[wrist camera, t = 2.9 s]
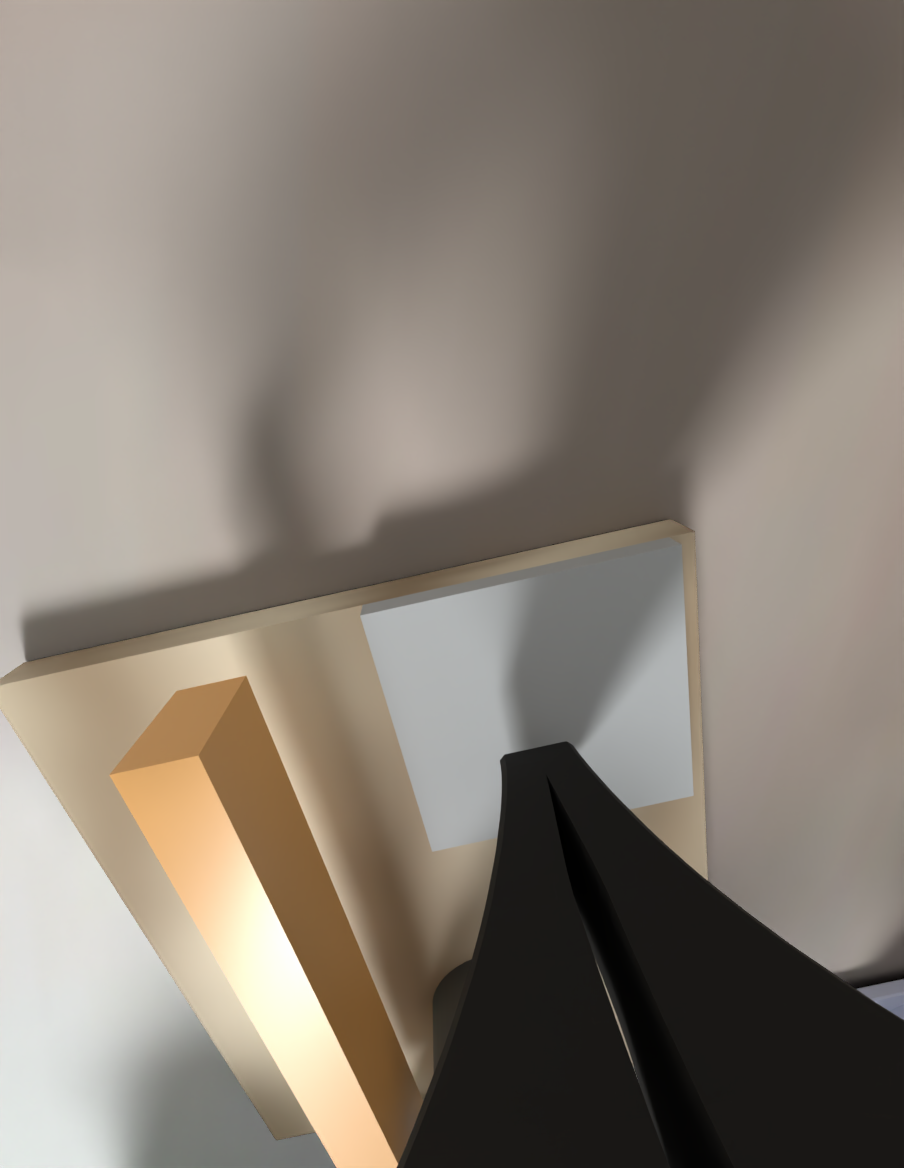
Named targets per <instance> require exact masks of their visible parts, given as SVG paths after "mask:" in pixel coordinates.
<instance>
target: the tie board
mask: <svg viewBox="0 0 904 1168" xmlns="http://www.w3.org/2000/svg"><path fill="white" fill-rule="evenodd" d="M667 537H670V538H671V539H673V540H675V541H676V542H678V543H680V544H682V561H683V583H684V604H685V625H686V646H687V667H688V688H689V709H690V730H691V751H692V772H693V793H694V796H690V797H686V798H681V799H676V800H672V801H667V802H662V803H658V804H653V805H648V806H644V807H639V808H634V809H630V810H631V811H632V812H633V813H634V814H635V815H636V816H637V817H638V818H639V819H640V820H641V821H642V822H643V823H644V824H645V825H646V826H647V827H648V828H649V829H650V830H651V831H652V832H653V833H654V834H655V835H656V836H657V837H658V838H659V839H661V840H662V841H663V842H664V843H665V844H666V845H667V846H668V847H669V848H670V849H672V850H673V851H674V852H675V853H676V854H677V855H678V856H679V857H681V858H682V859H683V860H684V861H685V862H686V863H687V864H688V865H690V866H691V867H692V868H693V869H694V870H695V871H697V872H698V873H699V874H700V875H701V876H702V877H704V878H705V879H706V880H707V881H708V874H707V847H706V820H705V793H704V767H703V740H702V713H701V686H700V659H699V633H698V606H697V579H696V552H695V531H693V530H691V529H689V528H687V527H685V526H683V525H681V524H679V523H677V522H675V521H673V520H671V519H669V520H664V521H660V522H655V523H651V524H646V525H642V526H637V527H633V528H628V529H624V530H619V531H615V532H610V533H605V534H601V535H596V536H592V537H587V538H583V539H578V540H574V541H569V542H565V543H560V544H556V545H551V546H547V547H542V548H538V549H533V550H529V551H524V552H520V553H515V554H511V555H506V556H502V557H497V558H493V559H488V560H484V561H479V562H475V563H470V564H466V565H461V566H457V567H452V568H448V569H443V570H439V571H434V572H430V573H425V574H421V575H416V576H412V577H407V578H403V579H398V580H394V581H389V582H385V583H380V584H376V585H371V586H367V587H362V588H358V589H353V590H349V591H344V592H340V593H335V594H331V595H326V596H322V597H317V598H313V599H308V600H304V601H299V602H295V603H290V604H286V605H281V606H277V607H272V608H268V609H263V610H259V611H254V612H250V613H245V614H241V615H236V616H232V617H227V618H223V619H218V620H214V621H209V622H205V623H200V624H195V625H191V626H186V627H182V628H177V629H173V630H168V631H164V632H159V633H155V634H150V635H146V636H141V637H137V638H132V639H128V640H123V641H119V642H114V643H110V644H105V645H101V646H96V647H92V648H87V649H83V650H78V651H74V652H69V653H65V654H60V655H56V656H51V657H47V658H42V659H38V660H33V661H29V662H24V663H23V664H21V665H20V666H18V667H17V668H15V669H14V670H13V671H11V672H10V673H8V674H7V675H5V676H4V677H2V678H1V679H0V709H1V711H2V712H3V714H4V715H5V717H6V719H7V720H8V722H9V723H10V725H11V726H12V728H13V730H14V731H15V733H16V734H17V736H18V737H19V739H20V740H21V742H22V744H23V745H24V747H25V748H26V750H27V751H28V753H29V755H30V756H31V758H32V759H33V761H34V762H35V764H36V765H37V767H38V769H39V770H40V772H41V773H42V775H43V776H44V778H45V780H46V781H47V783H48V784H49V786H50V787H51V789H52V791H53V792H54V794H55V795H56V797H57V798H58V800H59V801H60V803H61V805H62V806H63V808H64V809H65V811H66V812H67V814H68V816H69V817H70V819H71V820H72V822H73V823H74V825H75V826H76V828H77V830H78V831H79V833H80V834H81V836H82V837H83V839H84V841H85V842H86V844H87V845H88V847H89V848H90V850H91V852H92V853H93V855H94V856H95V858H96V859H97V861H98V862H99V864H100V866H101V867H102V869H103V870H104V872H105V873H106V875H107V877H108V878H109V880H110V881H111V883H112V884H113V886H114V887H115V889H116V891H117V892H118V894H119V895H120V897H121V898H122V900H123V902H124V903H125V905H126V906H127V908H128V909H129V911H130V913H131V914H132V916H133V917H134V919H135V920H136V922H137V923H138V925H139V927H140V928H141V930H142V931H143V933H144V934H145V936H146V938H147V939H148V941H149V942H150V944H151V945H152V947H153V949H154V950H155V952H156V953H157V955H158V956H159V958H160V959H161V961H162V963H163V964H164V966H165V967H166V969H167V970H168V972H169V974H170V975H171V977H172V978H173V980H174V981H175V983H176V984H177V986H178V988H179V989H180V991H181V992H182V994H183V995H184V997H185V999H186V1000H187V1002H188V1003H189V1005H190V1006H191V1008H192V1010H193V1011H194V1013H195V1014H196V1016H197V1017H198V1019H199V1020H200V1022H201V1024H202V1025H203V1027H204V1028H205V1030H206V1031H207V1033H208V1035H209V1036H210V1038H211V1039H212V1041H213V1042H214V1044H215V1045H216V1047H217V1049H218V1050H219V1052H220V1053H221V1055H222V1056H223V1058H224V1060H225V1061H226V1063H227V1064H228V1066H229V1067H230V1069H231V1071H232V1072H233V1074H234V1075H235V1077H236V1078H237V1080H238V1081H239V1083H240V1085H241V1086H242V1088H243V1089H244V1091H245V1092H246V1094H247V1096H248V1097H249V1099H250V1100H251V1102H252V1103H253V1105H254V1106H255V1108H256V1110H257V1111H258V1113H259V1114H260V1116H261V1117H262V1119H263V1121H264V1122H265V1124H266V1125H267V1127H268V1128H269V1130H270V1132H271V1133H272V1135H273V1136H274V1138H275V1139H276V1140H281V1139H286V1138H290V1137H295V1136H300V1135H305V1134H310V1133H315V1130H314V1128H313V1126H312V1125H311V1123H310V1121H309V1119H308V1118H307V1116H306V1114H305V1113H304V1111H303V1109H302V1107H301V1106H300V1104H299V1102H298V1100H297V1099H296V1097H295V1095H294V1094H293V1092H292V1090H291V1088H290V1087H289V1085H288V1083H287V1081H286V1080H285V1078H284V1076H283V1075H282V1073H281V1071H280V1069H279V1068H278V1066H277V1064H276V1062H275V1061H274V1059H273V1057H272V1056H271V1054H270V1052H269V1050H268V1049H267V1047H266V1045H265V1043H264V1042H263V1040H262V1038H261V1037H260V1035H259V1033H258V1031H257V1030H256V1028H255V1026H254V1024H253V1023H252V1021H251V1019H250V1017H249V1016H248V1014H247V1012H246V1011H245V1009H244V1007H243V1005H242V1004H241V1002H240V1000H239V998H238V997H237V995H236V993H235V992H234V990H233V988H232V986H231V985H230V983H229V981H228V979H227V978H226V976H225V974H224V973H223V971H222V969H221V967H220V966H219V964H218V962H217V960H216V959H215V957H214V955H213V954H212V952H211V950H210V948H209V947H208V945H207V943H206V941H205V940H204V938H203V936H202V935H201V933H200V931H199V929H198V928H197V926H196V924H195V922H194V921H193V919H192V917H191V916H190V914H189V912H188V910H187V909H186V907H185V905H184V903H183V902H182V900H181V898H180V897H179V895H178V893H177V891H176V890H175V888H174V886H173V884H172V883H171V881H170V879H169V878H168V876H167V874H166V872H165V871H164V869H163V867H162V865H161V864H160V862H159V860H158V859H157V857H156V855H155V853H154V852H153V850H152V848H151V846H150V845H149V843H148V841H147V839H146V838H145V836H144V834H143V833H142V831H141V829H140V827H139V826H138V824H137V822H136V820H135V819H134V817H133V815H132V814H131V812H130V810H129V808H128V807H127V805H126V803H125V801H124V800H123V798H122V796H121V795H120V793H119V791H118V789H117V788H116V786H115V784H114V782H113V781H112V779H111V777H110V776H109V775H110V773H111V772H112V771H113V770H114V768H115V767H116V766H117V765H118V763H119V762H120V761H121V760H122V758H123V757H124V756H125V755H126V753H127V752H128V751H129V750H130V748H131V747H132V746H133V745H134V743H135V742H136V741H137V740H138V738H139V737H140V736H141V735H142V733H143V732H144V731H145V730H146V728H147V727H148V726H149V725H150V723H151V722H152V721H153V720H154V718H155V717H156V716H157V715H158V713H159V712H160V711H161V710H162V708H163V707H164V706H165V705H166V703H167V702H168V701H169V700H170V698H171V697H172V696H173V695H174V693H175V692H176V691H178V690H183V689H187V688H192V687H196V686H201V685H205V684H210V683H214V682H219V681H224V680H228V679H233V678H237V677H242V676H247V679H248V681H249V683H250V686H251V688H252V691H253V693H254V695H255V698H256V700H257V703H258V705H259V708H260V710H261V712H262V715H263V717H264V720H265V722H266V724H267V727H268V729H269V732H270V734H271V736H272V739H273V741H274V744H275V746H276V748H277V751H278V753H279V756H280V758H281V760H282V763H283V765H284V768H285V770H286V772H287V775H288V777H289V780H290V782H291V784H292V787H293V789H294V792H295V794H296V796H297V799H298V801H299V804H300V806H301V808H302V811H303V813H304V816H305V818H306V820H307V823H308V825H309V828H310V830H311V832H312V835H313V837H314V840H315V842H316V844H317V847H318V849H319V852H320V854H321V856H322V859H323V861H324V864H325V866H326V868H327V871H328V873H329V876H330V878H331V880H332V883H333V885H334V888H335V890H336V892H337V895H338V897H339V900H340V902H341V905H342V907H343V909H344V912H345V914H346V917H347V919H348V921H349V924H350V926H351V929H352V931H353V933H354V936H355V938H356V941H357V943H358V945H359V948H360V950H361V953H362V955H363V957H364V960H365V962H366V965H367V967H368V969H369V972H370V974H371V977H372V979H373V981H374V984H375V986H376V989H377V991H378V993H379V996H380V998H381V1001H382V1003H383V1005H384V1008H385V1010H386V1013H387V1015H388V1017H389V1020H390V1022H391V1025H392V1027H393V1029H394V1032H395V1034H396V1037H397V1039H398V1041H399V1044H400V1046H401V1049H402V1051H403V1053H404V1056H405V1058H406V1061H407V1063H408V1065H409V1068H410V1070H411V1073H412V1075H413V1077H414V1080H415V1082H416V1085H417V1087H418V1089H419V1092H420V1094H421V1097H422V1099H423V1101H424V1098H425V1095H426V1093H427V1090H428V1087H429V1085H430V1082H431V1080H432V1077H433V1074H434V1070H433V996H434V993H435V991H436V988H437V987H438V985H439V983H440V982H441V981H442V979H443V978H444V977H445V976H446V975H447V974H448V973H449V972H450V971H452V970H453V969H455V968H456V967H457V966H459V965H461V964H463V963H464V962H466V961H468V960H471V959H472V956H473V953H474V949H475V945H476V941H477V938H478V934H479V930H480V926H481V922H482V918H483V913H484V909H485V905H486V900H487V895H488V890H489V885H490V879H491V874H492V869H493V864H494V858H495V852H496V845H497V838H494V839H489V840H485V841H480V842H475V843H471V844H466V845H461V846H457V847H452V848H447V849H443V850H438V851H433V852H432V849H431V846H430V843H429V840H428V836H427V833H426V830H425V826H424V823H423V820H422V817H421V813H420V810H419V807H418V804H417V800H416V797H415V794H414V791H413V787H412V784H411V781H410V777H409V774H408V771H407V768H406V764H405V761H404V758H403V755H402V751H401V748H400V745H399V742H398V738H397V735H396V732H395V728H394V725H393V722H392V719H391V715H390V712H389V709H388V706H387V702H386V699H385V696H384V692H383V689H382V686H381V683H380V679H379V676H378V673H377V670H376V666H375V663H374V660H373V657H372V653H371V650H370V647H369V643H368V640H367V637H366V634H365V630H364V627H363V624H362V621H361V617H360V614H361V610H362V606H363V605H365V604H369V603H374V602H378V601H383V600H387V599H392V598H396V597H401V596H405V595H410V594H414V593H419V592H424V591H428V590H433V589H437V588H442V587H446V586H451V585H455V584H460V583H464V582H469V581H473V580H478V579H482V578H487V577H491V576H496V575H500V574H505V573H509V572H514V571H518V570H523V569H527V568H532V567H536V566H541V565H545V564H550V563H554V562H559V561H563V560H568V559H573V558H577V557H582V556H586V555H591V554H595V553H600V552H604V551H609V550H613V549H618V548H622V547H627V546H631V545H636V544H640V543H645V542H649V541H654V540H658V539H663V538H667ZM597 966H598V965H597ZM598 969H599V968H598ZM599 972H600V970H599ZM600 975H601V973H600ZM601 977H602V976H601ZM602 980H603V978H602ZM603 983H604V981H603ZM604 986H605V983H604ZM605 989H606V986H605ZM606 992H607V995H608V998H609V1001H610V1003H611V1006H612V1009H613V1012H614V1015H615V1018H616V1021H617V1024H618V1026H619V1029H620V1032H621V1035H622V1037H623V1040H624V1043H625V1046H626V1049H627V1051H628V1054H629V1057H630V1060H631V1063H632V1065H633V1062H632V1058H631V1055H630V1052H629V1049H628V1046H627V1043H626V1040H625V1037H624V1034H623V1032H622V1029H621V1026H620V1023H619V1020H618V1017H617V1015H616V1012H615V1009H614V1007H613V1004H612V1002H611V999H610V996H609V994H608V991H607V989H606ZM633 1066H634V1065H633Z"/></svg>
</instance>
